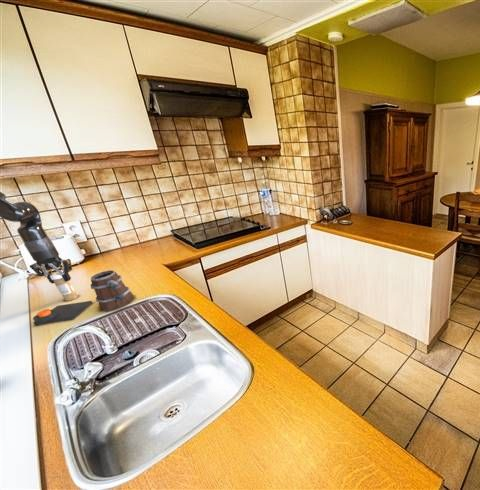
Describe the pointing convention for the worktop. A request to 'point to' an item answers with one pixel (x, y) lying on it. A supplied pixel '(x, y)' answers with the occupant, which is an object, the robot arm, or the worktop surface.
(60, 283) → the sprinkles bottle
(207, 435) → the worktop surface
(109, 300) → the mug
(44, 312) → the tare button
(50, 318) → the scale
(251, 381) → the worktop surface
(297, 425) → the worktop surface
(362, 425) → the worktop surface
